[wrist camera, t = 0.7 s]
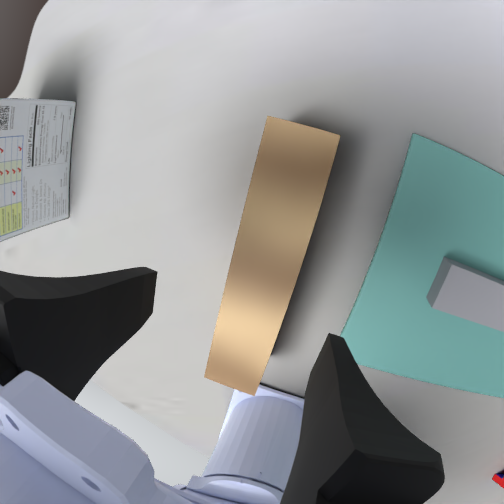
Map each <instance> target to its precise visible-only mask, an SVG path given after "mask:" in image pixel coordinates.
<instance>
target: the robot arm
mask: <svg viewBox="0 0 504 504" xmlns="http://www.w3.org/2000/svg"><path fill="white" fill-rule="evenodd" d="M156 279H157V271H154V270H152V269H149V268H147V267H137V268H130V269H124V270H119V271H113V272H107V273H101V274H94V275H87V276H78V277H61V278H54V277H33V276H25V275H18V274H12V273H7V272H3V271H0V504H423V503H424V502H426V501H427V500H428V499H430V498H431V497H432V496H433V495H434V494H435V493H436V492H437V491H439V489H440V488H441V487H442V485H443V483H444V479H445V475H444V469H443V464H442V458H441V454H440V453H438V452H437V451H435V450H434V449H432V448H431V447H430V446H428V445H427V444H425V443H424V442H422V441H421V440H420V439H418V438H417V437H416V436H415V435H413V434H412V433H411V432H410V431H409V430H407V429H406V428H405V427H404V426H403V425H402V424H401V423H400V422H399V421H398V420H397V419H396V418H395V417H394V416H393V415H392V414H391V413H390V412H389V410H388V409H387V408H386V407H385V406H384V405H383V403H382V402H381V401H380V399H379V398H378V397H377V396H376V394H375V393H374V391H373V390H372V388H371V387H370V385H369V384H368V382H367V381H366V379H365V377H364V376H363V374H362V372H361V370H360V369H359V367H358V365H357V363H356V361H355V359H354V357H353V355H352V353H351V351H350V349H349V347H348V345H347V343H346V341H345V339H344V338H343V337H340V336H337V335H333V334H330V333H329V334H328V336H327V338H326V341H325V343H324V345H323V347H322V349H321V352H320V354H319V356H318V358H317V360H316V362H315V364H314V366H313V369H312V371H311V373H310V377H309V381H308V385H307V389H306V393H305V399H302V398H299V397H296V396H293V395H289V394H286V393H283V392H280V391H277V390H274V389H271V388H268V387H265V386H262V385H259V386H258V389H257V391H256V394H255V396H252V395H250V394H247V393H244V392H241V391H239V390H236V389H235V390H234V393H233V396H232V399H231V402H230V405H229V408H228V411H227V414H226V417H225V421H224V424H223V427H222V430H221V433H220V436H219V441H218V443H217V445H216V447H215V449H214V451H213V453H212V455H211V457H210V459H209V461H208V463H207V466H206V467H205V470H204V472H203V474H202V476H201V477H198V476H194V475H193V476H192V478H191V479H190V481H189V483H188V485H187V486H185V485H182V484H178V485H175V486H173V487H172V486H170V485H168V484H165V483H163V482H161V481H159V480H157V479H155V478H154V469H153V467H152V465H151V462H150V460H149V458H148V455H147V454H146V453H145V452H144V451H143V450H142V449H141V448H140V447H139V446H138V445H137V444H136V442H134V440H132V439H131V438H129V437H128V436H127V435H125V434H124V433H122V432H121V431H120V430H118V429H117V428H115V427H114V426H112V425H110V424H109V423H107V422H105V421H104V420H102V419H101V418H99V417H97V416H96V415H94V414H93V413H91V412H89V411H88V410H86V409H85V408H83V407H82V406H80V405H79V404H77V403H76V402H74V401H75V399H76V398H77V396H78V394H79V393H80V392H81V391H82V389H83V388H84V387H85V385H86V384H87V383H88V381H89V380H90V379H91V378H92V376H93V375H94V374H95V373H96V371H97V370H98V369H99V368H100V367H101V365H102V364H103V363H104V362H105V361H106V360H107V359H108V358H109V357H110V356H111V355H113V354H114V353H115V352H116V351H117V350H118V349H119V348H120V347H121V346H122V345H123V344H125V343H126V342H127V341H128V340H129V339H130V338H131V337H132V336H133V335H134V334H135V333H136V332H137V331H138V330H139V329H140V328H141V327H142V326H143V325H144V323H145V322H146V321H147V320H148V318H149V317H150V316H151V314H152V313H153V305H154V296H155V287H156Z"/></svg>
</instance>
